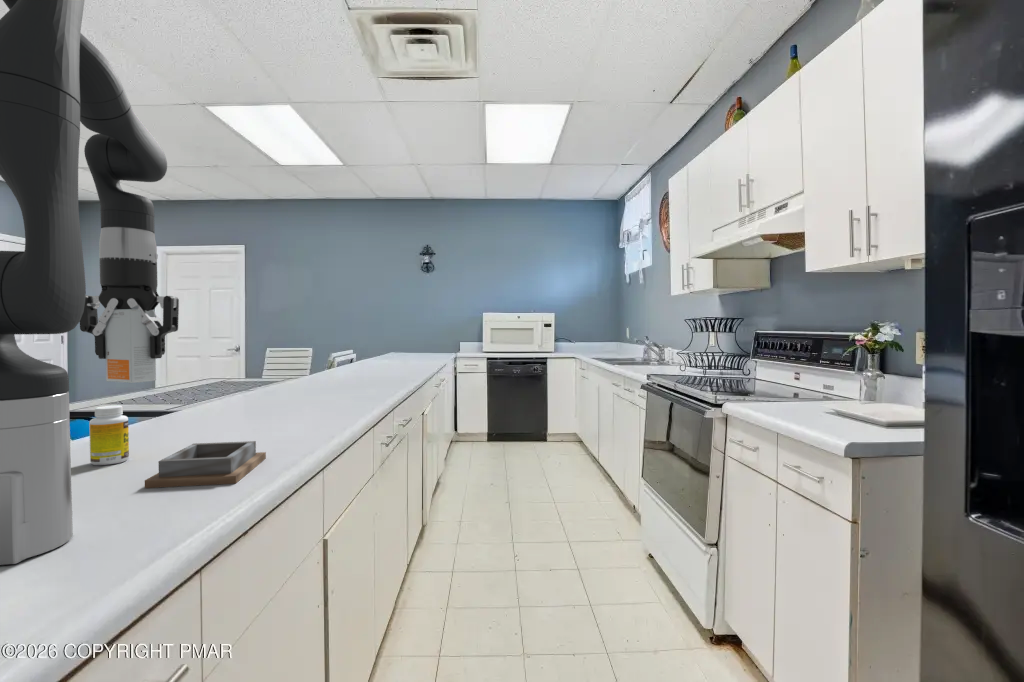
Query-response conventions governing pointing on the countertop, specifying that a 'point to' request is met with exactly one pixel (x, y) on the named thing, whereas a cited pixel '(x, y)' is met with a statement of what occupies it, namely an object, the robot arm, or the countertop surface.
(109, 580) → the countertop surface
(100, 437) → the supplement bottle
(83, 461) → the countertop surface
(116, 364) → the skincare box
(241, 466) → the holder
